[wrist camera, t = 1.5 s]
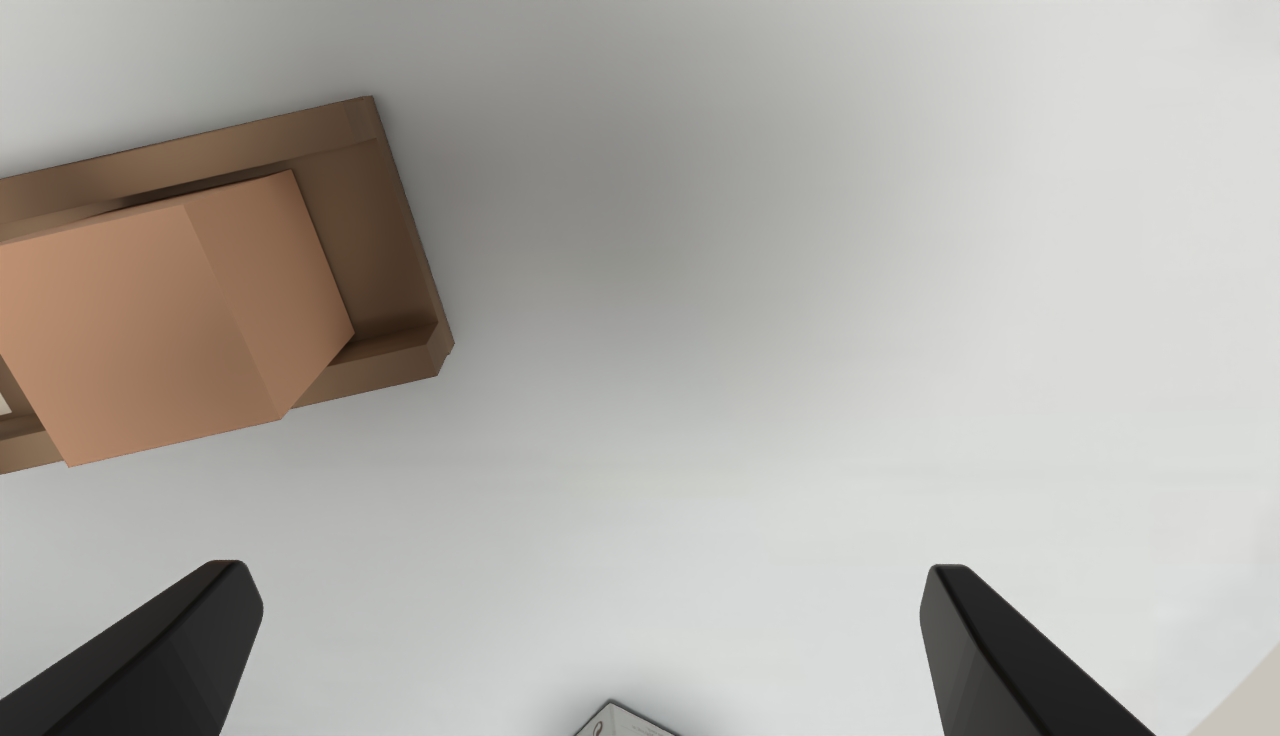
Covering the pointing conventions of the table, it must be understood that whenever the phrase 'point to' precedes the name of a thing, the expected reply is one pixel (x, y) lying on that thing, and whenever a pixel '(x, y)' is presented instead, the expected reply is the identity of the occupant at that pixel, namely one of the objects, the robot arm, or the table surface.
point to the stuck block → (170, 317)
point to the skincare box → (620, 724)
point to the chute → (339, 210)
